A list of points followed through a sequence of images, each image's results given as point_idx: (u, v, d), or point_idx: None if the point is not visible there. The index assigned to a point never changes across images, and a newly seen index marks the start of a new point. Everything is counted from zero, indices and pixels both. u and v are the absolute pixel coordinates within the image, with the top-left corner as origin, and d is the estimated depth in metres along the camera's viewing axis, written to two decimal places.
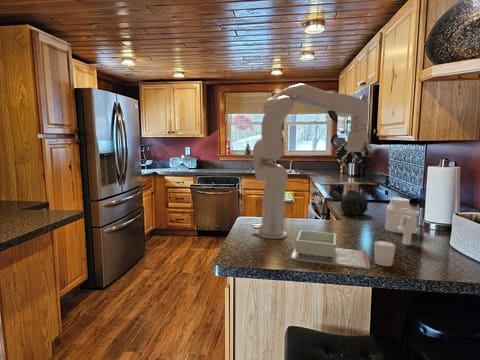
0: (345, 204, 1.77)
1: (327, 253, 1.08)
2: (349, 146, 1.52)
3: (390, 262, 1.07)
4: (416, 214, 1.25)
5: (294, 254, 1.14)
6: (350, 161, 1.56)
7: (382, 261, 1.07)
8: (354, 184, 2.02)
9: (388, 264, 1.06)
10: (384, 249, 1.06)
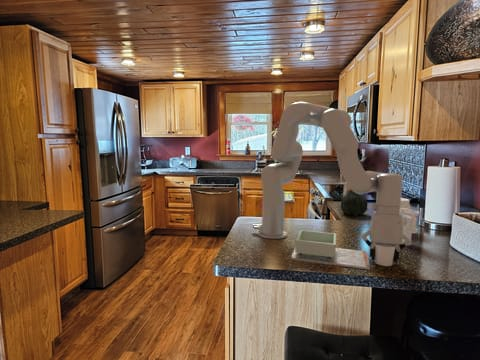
0: (345, 204, 1.77)
1: (327, 253, 1.08)
2: (379, 236, 1.06)
3: (390, 262, 1.07)
4: (416, 214, 1.25)
5: (294, 254, 1.14)
6: None
7: (382, 261, 1.07)
8: None
9: (388, 264, 1.06)
10: (384, 249, 1.06)
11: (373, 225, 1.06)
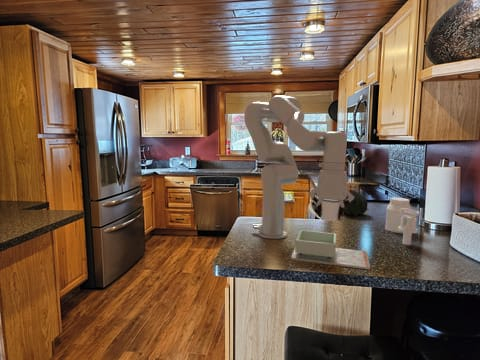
0: None
1: (327, 253, 1.08)
2: (324, 192, 1.10)
3: (335, 217, 1.11)
4: (416, 214, 1.25)
5: (294, 254, 1.14)
6: None
7: (327, 216, 1.11)
8: (354, 184, 2.02)
9: (333, 219, 1.11)
10: (329, 204, 1.10)
11: (319, 182, 1.10)
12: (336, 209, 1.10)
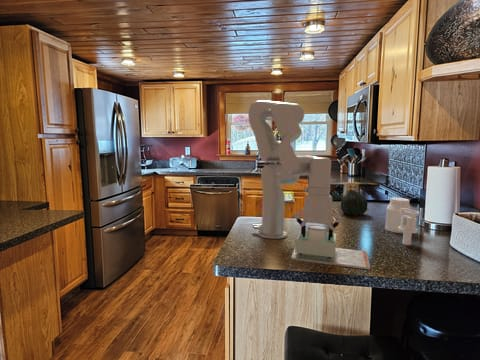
0: (345, 204, 1.77)
1: (327, 253, 1.08)
2: (310, 216, 1.12)
3: None
4: (416, 214, 1.25)
5: (294, 254, 1.14)
6: None
7: None
8: (354, 184, 2.02)
9: None
10: (315, 232, 1.12)
11: (305, 206, 1.13)
12: (322, 237, 1.12)
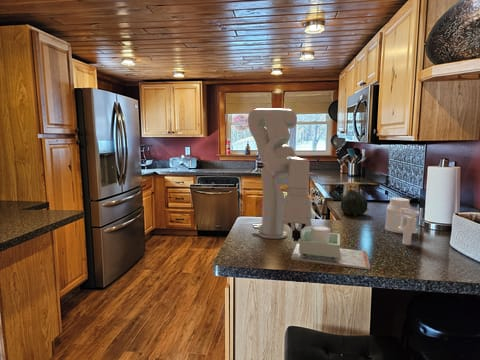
0: (345, 204, 1.77)
1: (331, 254, 1.08)
2: (289, 216, 1.14)
3: None
4: (416, 214, 1.25)
5: (294, 254, 1.14)
6: None
7: None
8: (354, 184, 2.02)
9: None
10: (318, 233, 1.12)
11: (284, 206, 1.15)
12: (326, 237, 1.12)
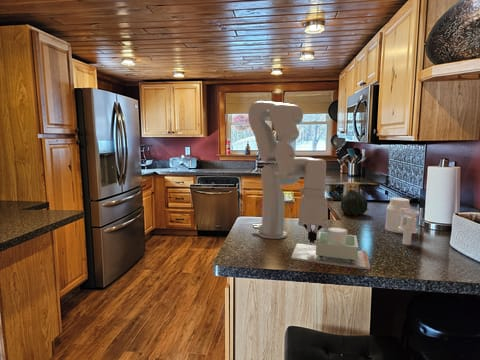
0: (345, 204, 1.77)
1: (349, 256, 1.06)
2: (305, 217, 1.13)
3: None
4: (416, 214, 1.25)
5: (294, 254, 1.14)
6: None
7: None
8: (354, 184, 2.02)
9: None
10: (335, 234, 1.10)
11: (300, 207, 1.13)
12: (343, 239, 1.10)
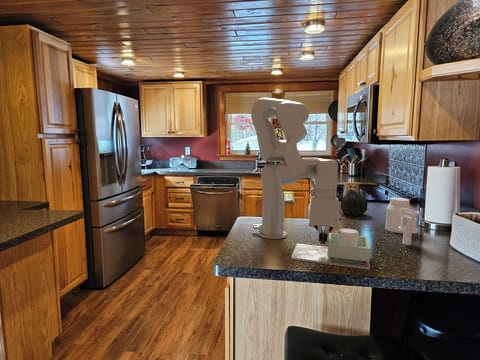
0: (345, 204, 1.77)
1: (361, 257, 1.05)
2: (316, 218, 1.12)
3: None
4: (416, 214, 1.25)
5: (294, 254, 1.14)
6: None
7: None
8: (354, 184, 2.02)
9: None
10: (347, 235, 1.09)
11: (311, 208, 1.12)
12: (354, 240, 1.09)
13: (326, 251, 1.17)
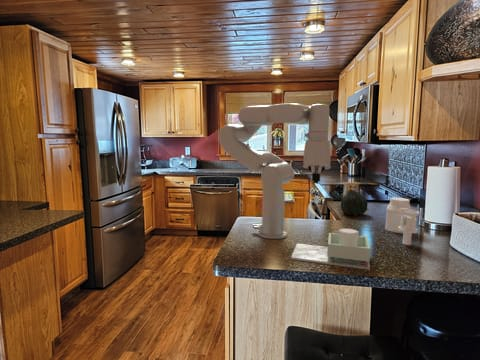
0: (345, 204, 1.77)
1: (361, 257, 1.05)
2: (310, 159, 1.22)
3: None
4: (416, 214, 1.25)
5: (294, 254, 1.14)
6: None
7: None
8: (354, 184, 2.02)
9: None
10: (347, 235, 1.09)
11: (305, 150, 1.22)
12: (354, 240, 1.09)
13: (326, 251, 1.17)
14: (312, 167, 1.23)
